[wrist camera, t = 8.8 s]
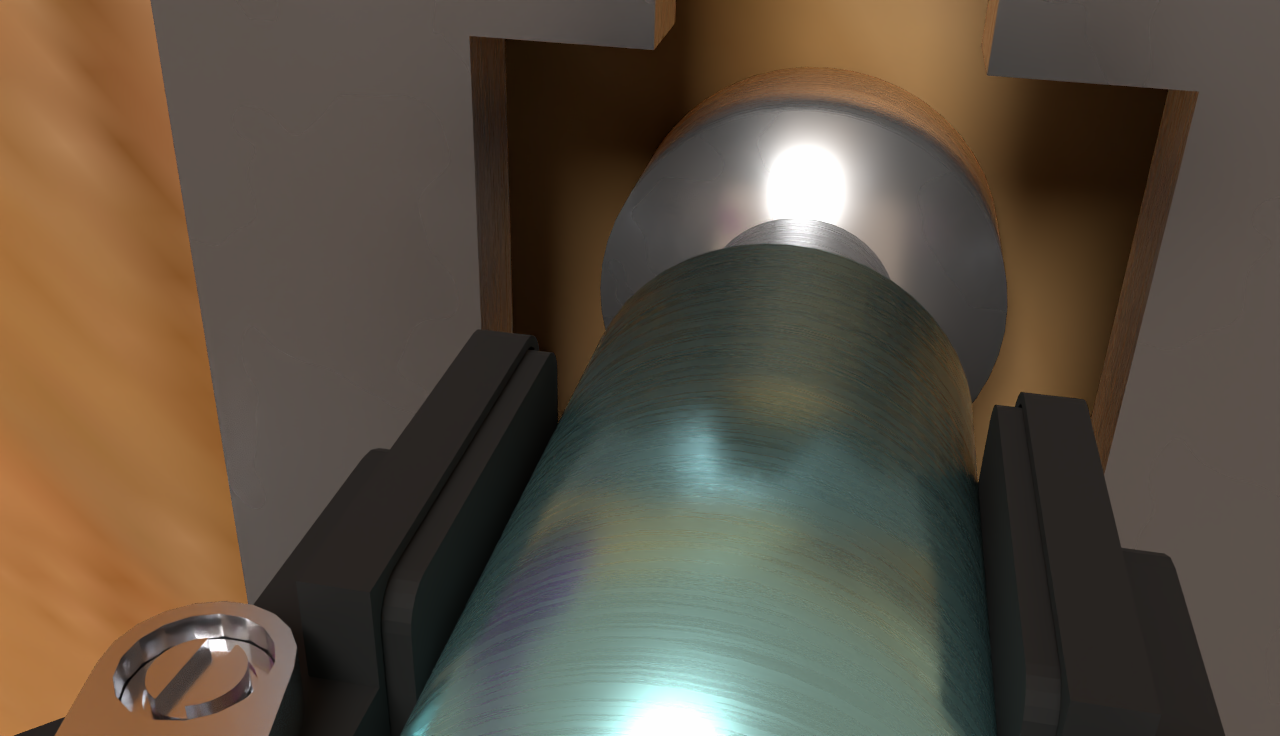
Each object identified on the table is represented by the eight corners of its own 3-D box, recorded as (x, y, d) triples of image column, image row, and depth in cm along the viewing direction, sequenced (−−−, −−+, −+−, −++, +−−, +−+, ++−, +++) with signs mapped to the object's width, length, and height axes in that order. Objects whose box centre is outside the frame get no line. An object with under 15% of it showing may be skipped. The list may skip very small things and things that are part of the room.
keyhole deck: (1218, 693, 19) (1287, 920, 16) (379, 566, 22) (269, 739, 18) (1850, -1192, 10) (2396, -1720, 6) (224, -1063, 12) (-77, -1397, 8)
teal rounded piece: (967, 425, 18) (1033, 1397, 8) (628, 384, 18) (270, 1212, 8) (1028, 83, 15) (1249, 823, 5) (636, 53, 16) (151, 641, 6)
